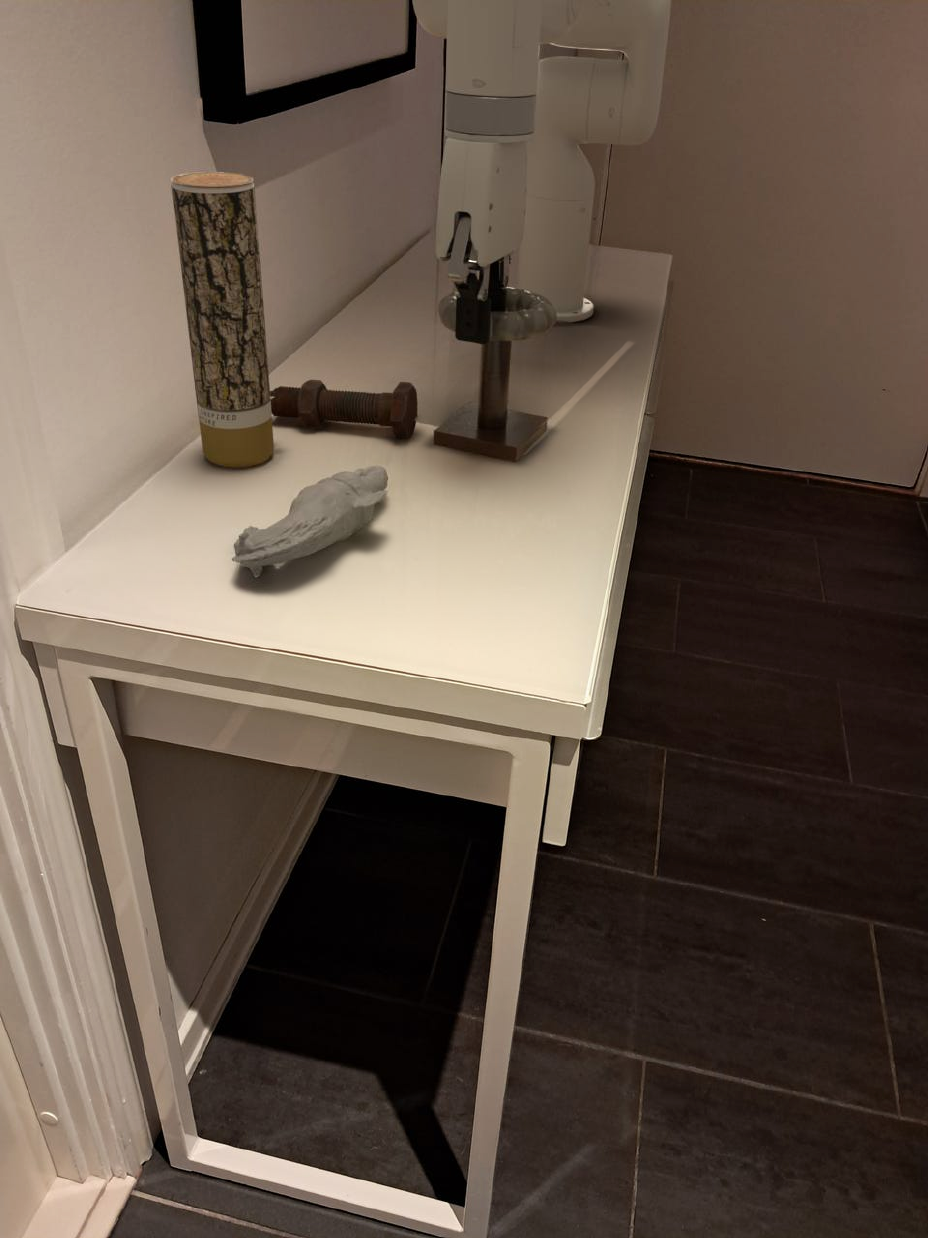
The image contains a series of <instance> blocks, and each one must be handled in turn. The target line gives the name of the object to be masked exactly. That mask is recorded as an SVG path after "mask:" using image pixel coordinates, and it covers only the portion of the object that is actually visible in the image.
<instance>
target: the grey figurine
mask: <svg viewBox="0 0 928 1238" xmlns="http://www.w3.org/2000/svg"><path fill="white" fill-rule="evenodd" d="M388 480H389V475H388V473H387V469H386V468H384V466H380V465H370V466H368V467H365V468H357V469H356V470H355V471H347V470H346V471H339V472H337V473H334V474H333V475H332V476H330V477H329V476H328V477H326V478H323V479H321V480H319V481H317V482H316V483H315V484H312V485H308V486H305V487H303V488H302V489H301V490H300V491H299V492H298V494H297V496H296V497H295V498H293V500H292V501H291V503H290V507H289V511H288V514H287V515H286V516H284V517H282V518H281V519H280V520H278V521H277V522H275V523H274V524H271V525H270V526H268V527H266V528H261V529H260V528H258V527H255V526H252V525H249V526H248V527H247V528H244V529H243V532H242V533H240V534H239V535H238V538H237V539H236V541H235V542H234V543H233V548H234V555H235V556H233V557H231V561H232V562H235V563H240V565H241V567H244V568H249V569H250V571H251V572H252V573H253V576H254V578H257V577H258V576H260V575H261V573H262V571H263V567H265V566H272V565H278V564H283V563H286V562H289V561H293V560H294V559H295V560H296V559H299V558H300V559H301V558H304V557H308V556H311V555H313V554H315V553H317V552H319V551H321V550H323V549H325V548H327V547H328V546H330V545H333V544H337V543H340V542H342V541H344V540H347V539H348V538H349V537H350V536H351V535H353V534H355V533H356V532H357V531H359V530H360V529H361V528H362V527H363V526H364V525H366V524H368V523H369V521H370V520H372V518H373V515H374V508H375V505H376V504H377V503H379V502H382V501H384V499H385V497H386V496H387V495H388V492H389V490H387V487H388V482H389V481H388Z"/></svg>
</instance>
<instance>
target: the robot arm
mask: <svg viewBox="0 0 928 1238" xmlns="http://www.w3.org/2000/svg"><path fill="white" fill-rule="evenodd" d="M411 2H412V6H413V12H414V14H415V16H416V19H417V21H418V23H419V24H420V26H421V28H422V29H423V30H424V31H425V32H427V33H428V34H430V35H431V36H433V37H436V38H439V39H445V40H446V66H445V69H446V70H445V72H446V73H445V95H444V96H445V97H444V98H445V99H444V100H445V101H444V136H445V137H446V139H445V143H444V150H443V155H442V162H441V169H440V177H439V186H438V187H439V189H438V200H437V213H436V215H437V216H436V230H435V231H436V232H435V255H436V257H437V259H438V260H439V261H441V262H448V261H449V263H448V268H447V274H446V275H447V278H448V279H450V280H451V282H453V283H454V291H455V297H456V326H455V332H454V337H455V339H456V340H457V341H461V342H467V343H473V344H479V345H481V344H486V343H487V342H489V336H490V316H491V311H492V312H506V298H507V289H502V288H507V287H509V282H510V265H511V261H512V256H513V254H514V252H515V250H517V249H519V250H518V265H517V281H516V289H522V290H528V291H531V292H533V293H536V294H538V295H541V296H544V297H546V298H547V299H548V300H549V301H550V302H551V304H552V305H553V307H554V309H555V311H556V314H557V318H556V321H562V322H568V323H576V322H581V321H584V320H587V319H589V318H591V317H592V316H593V314H594V309H595V306H594V304H593V302H592V301H590V300H589V299H587V298H585V297H584V296H585V288H586V278H587V270H588V269H587V268H588V259H589V258H588V257H589V249H590V239H591V229H592V218H593V208H594V198H595V189H596V182H595V175H594V171H593V168H592V166H591V164H590V162H589V161H588V158H587V157H586V156H585V154H584V153H583V151H582V149H581V148H580V146H579V144H602V145H616V146H617V145H618V146H638V145H642V144H645V143H646V142H648V141H649V140H650V139H651V138H652V137H653V134H654V132H655V130H656V127H657V124H658V120H659V115H660V109H661V99H662V92H663V82H664V74H665V66H666V65H665V64H666V57H667V48H668V47H667V46H668V39H669V29H670V20H671V8H672V0H412V1H411ZM548 44H550V45H553V46H557V47H561V48H570V49H581V50H582V49H583V50H598V51H599V50H601V51H616V52H617V51H618V52H622V53H623V54H624V55H625V57H626V60H625V59H612V58H611V59H609V58H597V57H586V56H585V57H584V56H566V55H565V56H564V55H563V56H559V55H558V56H557V55H556V56H549V57H545V58H542V59H540V49H541V48H540V46H541V45H548ZM471 256H476V258H475V260H470V257H471ZM471 271H476V272H471Z"/></svg>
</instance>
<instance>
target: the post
mask: <svg viewBox="0 0 928 1238" xmlns="http://www.w3.org/2000/svg"><path fill="white" fill-rule="evenodd" d="M512 344H513V341H489V342H487V343H486V344H480V355H479V356H480V359H479V378H478V379H479V380H478V401H477V402H478V403H476V402H471V401H469V402H467V403H466V404H465V405H464V406H462V407H461V408H460V409H459V410H458V411H456V412H455V413H454V414H452V415H451V416H450V417H449V418H448V419H446V420H444V422H443V423H441V424H440V425H439V426H438V427H436V428H435V429H434V430H433V445H436V446H440V447H444V448H449V449H454V450H457V451H463V452H468V453H473V454H477V455H482V456H487V457H490V458H491V457H492V458H495V459H500V460H506V461H511V462H515V463H516V462H517V461H518V460H519V459H520V458H521V457H522V456H523V455H524V454H526V452H527V451H529V450H530V448H531V447H532V446H533V445H534V444H535V443H536V442H537V441H538V440H539V439H540V438H541V437H542V436H543V435H544V434H545V433H546V432H547V430H548V419H549V418H548V417H547V416H544V415H540V414H539V415H538V414H534V413H533V414H532V413H527V412H523V411H517V410H514V409H513V410H512V409H509V407H508V406H509V394H510V393H509V392H510V375H511V358H512Z"/></svg>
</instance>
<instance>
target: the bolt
mask: <svg viewBox="0 0 928 1238" xmlns="http://www.w3.org/2000/svg"><path fill="white" fill-rule="evenodd" d="M271 397H272V398H271ZM270 398H271V412H272V415H273V417H277V418H286V419H298V420H299V421H300V422H301V424H302V425H303V426H304V427H305V428H306V429H315V430H316V429H319V428H320V427H322V426H324V424H325V422H337V423H351V424H361V425H363V424H364V425H374V426H380V427H385V428H386V427H387V428H391V429H392V433H393V437H394V438H393V439H394V440H401V441H406V440H408V439H410V438H411V437H413V435H414V432H415V429H416V425H417V420H416V419H417V418H418V393H417V389H416V387H415V386H414V385H413V383H412V382H407V381H399V383H398V384H397V385H396V387H395V389H393V391H392V392H366V391H356V390H355V391H353V390H351V391H350V390H348V391H347V390H337V389H336V390H335V389H327V387H326V384H324V382H323V381H322V380H320V379H308V380H305V382H304V383H302V384H301V386H300V387H297V386H292V387H291V386H285V385H283V386H281V385H279V386H278V387H275V388H273V390H270Z"/></svg>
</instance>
